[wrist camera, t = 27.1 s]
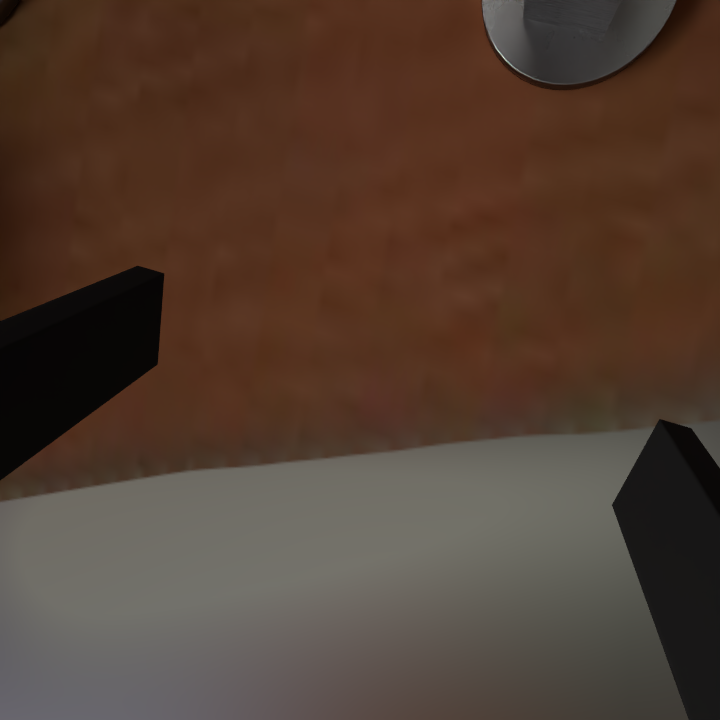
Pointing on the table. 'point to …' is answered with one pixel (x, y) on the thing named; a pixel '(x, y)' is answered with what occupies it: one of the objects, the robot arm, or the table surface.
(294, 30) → the table surface
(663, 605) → the robot arm
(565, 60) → the brushed metal pedestal stand
